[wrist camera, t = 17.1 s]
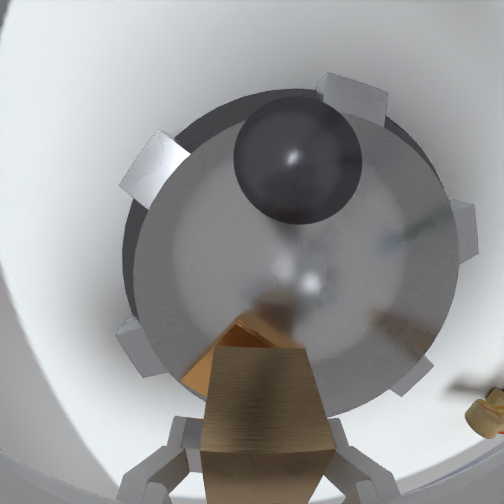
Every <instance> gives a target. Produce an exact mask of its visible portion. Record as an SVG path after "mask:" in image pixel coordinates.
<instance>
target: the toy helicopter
mask: <svg viewBox="0 0 504 504" xmlns="http://www.w3.org/2000/svg"><path fill="white" fill-rule="evenodd" d="M465 419H466V421H467V423H468V424H469V426H470V427H471V428H472V429H473V430H474V431H475V432H476V433H477V434H479V435H480V436H482V437H484V438H487V439H492V438H494V437H495V436H496V434H497V433H500V434H504V392H503V391H501V390H499V389H497V388H494V389H493V390H492V391H491V393H490V394H489V395H488V397H487V398H486V401H485V400H482V399H478V400H476V401H475V402H474V403H473V404H472V405H471V407H470V408H469V409H468V410H467V411H466V413H465Z"/></svg>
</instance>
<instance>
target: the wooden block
mask: <svg viewBox="0 0 504 504" xmlns="http://www.w3.org/2000/svg"><path fill="white" fill-rule="evenodd" d="M335 450H336V447H335V443H334V440H333V437H332V433H331V430H330V427H329V423H328V420H327V417H326V413H325V410H324V407H323V404H322V400H321V397H320V394H319V391H318V387H317V384H316V381H315V378H314V375H313V371H312V368H311V365H310V362H309V359H308V356H307V352H306V349H305V348H253V347H230V346H215V347H214V354H213V360H212V367H211V373H210V380H209V387H208V394H207V401H206V408H205V415H204V422H203V429H202V437H201V444H200V457H201V465H202V473H203V480H204V486H205V493H206V499H207V504H307V503H308V502H309V500H310V498H311V496H312V495H313V493H314V491H315V489H316V487H317V486H318V484H319V482H320V480H321V478H322V476H323V474H324V472H325V470H326V468H327V466H328V464H329V462H330V460H331V458H332V456H333V454H334V452H335Z"/></svg>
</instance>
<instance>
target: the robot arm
mask: <svg viewBox="0 0 504 504" xmlns="http://www.w3.org/2000/svg"><path fill="white" fill-rule="evenodd" d="M327 420H328V423H329V427H330V430H331V433H332V437H333V440H334V443H335V447H336V450H335V452H334V454H333V456H332V458H331V460H330V462H329V464H328V466H327V468H326V470H325V472H324V474H323V475H324V476H325V477H326V478H327V479H328V480H329V481H330V482H331V483H333V484H334V485H335V486H336V487H337V488H338V489H339V490H340V491H341V492H342V493H343V494H344V495H345V496H346V498H345V500H344V501H343V502H342V503H341V504H504V449H502V450H500V451H499V452H497V453H495V454H493V455H492V456H490V457H488V458H486V459H484V460H483V461H481V462H479V463H477V464H475V465H473V466H471V467H469V468H467V469H466V470H463V471H461V472H459V473H457V474H455V475H453V476H450V477H448V478H446V479H444V480H441V481H439V482H436V483H434V484H431V485H429V486H426V487H424V488H421V489H418V490H415V491H413V492H410V493H407V494H404V495H401V494H400V492H399V489H398V487H397V484H396V482H395V479H394V477H393V475H392V473H391V472H389V471H388V470H386V469H385V468H383V467H382V466H380V465H379V464H378V463H376V462H375V461H373V460H372V459H370V458H369V457H367V456H366V455H365V454H363V453H362V452H360V451H359V450H358V449H356V448H355V447H353V446H349V444H348V441H347V438H346V435H345V432H344V430H343V427H342V424H341V421H340V419H339V418H333V419H327ZM203 422H204V419H196V418H189V417H180V416H175V417H174V418H173V422H172V426H171V430H170V434H169V438H168V442H167V446H162V447H161V448H159V449H158V450H157V451H155V452H154V453H153V454H151V455H150V456H149V457H147V458H146V459H145V460H143V461H142V462H141V463H139V464H138V465H137V466H135V467H134V468H133V469H131V470H130V471H128V472H127V473H126V474H124V476H123V479H122V482H121V485H120V488H119V491H118V495H117V498H116V500H115V499H112V498H108V497H105V496H102V495H99V494H96V493H93V492H90V491H87V490H84V489H82V488H79V487H76V486H74V485H71V484H69V483H66V482H63V481H61V480H59V479H57V478H54V477H52V476H50V475H48V474H46V473H43V472H41V471H39V470H37V469H35V468H33V467H31V466H29V465H27V464H26V463H24V462H22V461H20V460H18V459H16V458H15V457H13V456H11V455H9V454H8V453H6V452H4V451H3V450H1V449H0V504H172V502H171V500H170V497H169V495H168V494H169V493H170V492H171V491H172V490H173V489H174V488H175V487H176V486H177V485H178V484H179V483H180V482H181V481H182V480H183V479H184V478H185V477H186V476H187V475H188V474H189V472H198V473H202V465H201V457H200V444H201V437H202V429H203Z"/></svg>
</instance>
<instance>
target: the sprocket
mask: <svg viewBox="0 0 504 504" xmlns="http://www.w3.org/2000/svg"><path fill="white" fill-rule="evenodd" d="M387 97H388V92H386V91H383V90H381V89H378V88H375V87H372V86H369V85H367V84H364V83H361V82H358V81H355V80H352V79H348V78H345V77H342V76H339V75H335V74H332V73H328V72H327V73H326V74H325V76H324V77H323V78H322V79H321V80H320V81H319V82H318V83H317V88H316V94H315V99H313V98H309V97H303V96H290V97H283V98H279V99H275V100H273V101H270V102H268V103H266V104H264V105H263V106H261V107H260V108H258V109H257V110H256V111H254V112H253V113H252V114H251V115H250V116H249V117H248V119H247V120H245V121H243V122H241V123H238V124H236V125H234V126H231V127H229V128H227V129H225V130H224V131H222V132H220V133H219V134H217V135H216V136H214V137H212V138H211V139H209V140H208V141H206V142H204V143H203V144H202V145H201V146H200V147H198V148H197V149H196V150H195V151H194V152H191V151H190V150H189V149H188V148H186V147H185V146H184V145H182V144H181V143H180V142H178V141H177V140H176V139H175V138H173V137H172V136H171V135H169V134H167V133H165V132H163V131H160V130H157V131H156V133H155V134H154V135H153V137H152V138H151V139H150V141H149V142H148V143H147V145H146V146H145V147H144V149H143V150H142V152H141V153H140V154H139V156H138V157H137V159H136V160H135V161H134V163H133V164H132V166H131V167H130V169H129V170H128V172H127V173H126V175H125V176H124V178H123V179H122V181H121V182H120V184H119V186H120V187H121V188H122V189H123V190H125V191H126V192H127V193H128V194H129V195H131V196H132V197H133V198H134V199H136V200H137V201H138V202H139V203H140V204H142V205H143V206H144V207H145V208H147V209H148V213H147V215H146V217H145V220H144V222H143V224H142V227H141V231H140V234H139V238H138V242H137V246H136V251H135V259H134V269H133V281H134V296H135V302H136V307H137V312H138V315H136V316H133V317H130V318H127V319H126V321H125V322H124V324H123V325H122V326H121V328H120V329H119V331H118V332H117V333H116V337H117V339H118V340H119V342H120V344H121V345H122V347H123V349H124V350H125V352H126V353H127V355H128V356H129V358H130V360H131V361H132V363H133V364H134V366H135V367H136V369H137V370H138V372H139V373H140V375H141V376H142V377H143V378H144V377H148V376H153V375H158V374H162V373H167V372H170V373H171V375H172V376H173V377H174V378H175V379H176V380H177V381H178V382H179V383H180V384H182V385H183V386H184V387H185V388H186V389H188V390H189V391H190V392H191V393H193V394H194V395H196V396H197V397H199V398H200V399H202V400H204V401H205V402H206V401H207V394H208V387H209V380H210V373H211V367H212V360H213V354H214V347H215V346H230V347H253V348H305V349H306V352H307V356H308V359H309V362H310V365H311V368H312V371H313V375H314V378H315V381H316V384H317V387H318V391H319V394H320V397H321V400H322V404H323V407H324V410H325V413H326V417H327V418H328V417H332V416H335V415H338V414H341V413H344V412H347V411H350V410H352V409H354V408H357V407H359V406H361V405H363V404H365V403H367V402H369V401H371V400H372V399H374V398H376V397H378V396H379V395H381V394H382V393H384V392H385V391H387V390H388V389H390V390H392V391H393V392H395V393H396V394H398V395H399V396H401V397H402V396H403V395H404V394H406V393H407V392H408V391H409V390H410V389H411V388H412V387H413V386H414V385H415V384H416V383H417V382H418V381H419V380H421V379H422V378H423V377H424V376H425V375H426V374H427V373H428V372H429V371H430V370H431V369H432V368H433V367H434V365H433V364H432V362H431V361H430V360H429V359H428V358H427V357H426V355H425V353H426V352H427V350H428V349H429V348H430V346H431V345H432V343H433V342H434V340H435V338H436V337H437V335H438V333H439V332H440V330H441V328H442V325H443V323H444V321H445V319H446V317H447V315H448V312H449V309H450V306H451V303H452V300H453V297H454V293H455V288H456V283H457V278H458V268H459V264H461V263H463V262H464V261H466V260H468V259H470V258H472V257H473V256H475V255H477V254H479V253H478V237H477V226H476V216H475V208H474V204H471V203H466V202H462V201H458V200H452V201H449V200H448V198H447V196H446V194H445V191H444V189H443V187H442V185H441V183H440V182H439V180H438V179H437V177H436V175H435V174H434V172H433V171H432V169H431V168H430V167H429V165H428V164H427V163H426V162H425V161H424V160H423V158H422V157H421V156H420V155H419V154H418V153H417V152H416V151H415V150H414V149H413V148H412V147H411V146H409V145H408V144H407V143H406V142H405V141H403V140H402V139H401V138H400V137H398V136H397V135H395V134H394V133H392V132H390V131H389V130H387V129H385V128H384V123H385V115H386V106H387Z"/></svg>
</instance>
